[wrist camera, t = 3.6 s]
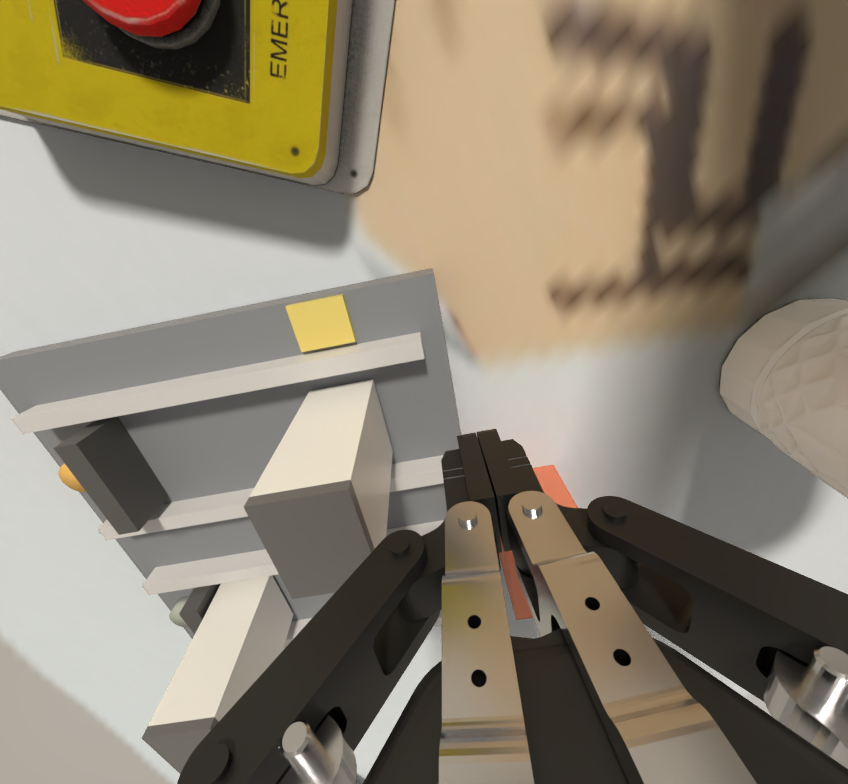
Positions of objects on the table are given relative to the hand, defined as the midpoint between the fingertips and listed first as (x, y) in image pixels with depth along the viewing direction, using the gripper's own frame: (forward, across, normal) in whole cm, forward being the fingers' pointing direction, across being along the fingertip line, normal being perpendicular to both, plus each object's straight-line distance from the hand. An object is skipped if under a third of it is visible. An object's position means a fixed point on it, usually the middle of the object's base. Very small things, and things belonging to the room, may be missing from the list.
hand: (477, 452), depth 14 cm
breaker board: (+6, +10, +5) cm, 13 cm away
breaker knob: (+4, +14, +11) cm, 19 cm away
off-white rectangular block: (+4, +5, 0) cm, 7 cm away
